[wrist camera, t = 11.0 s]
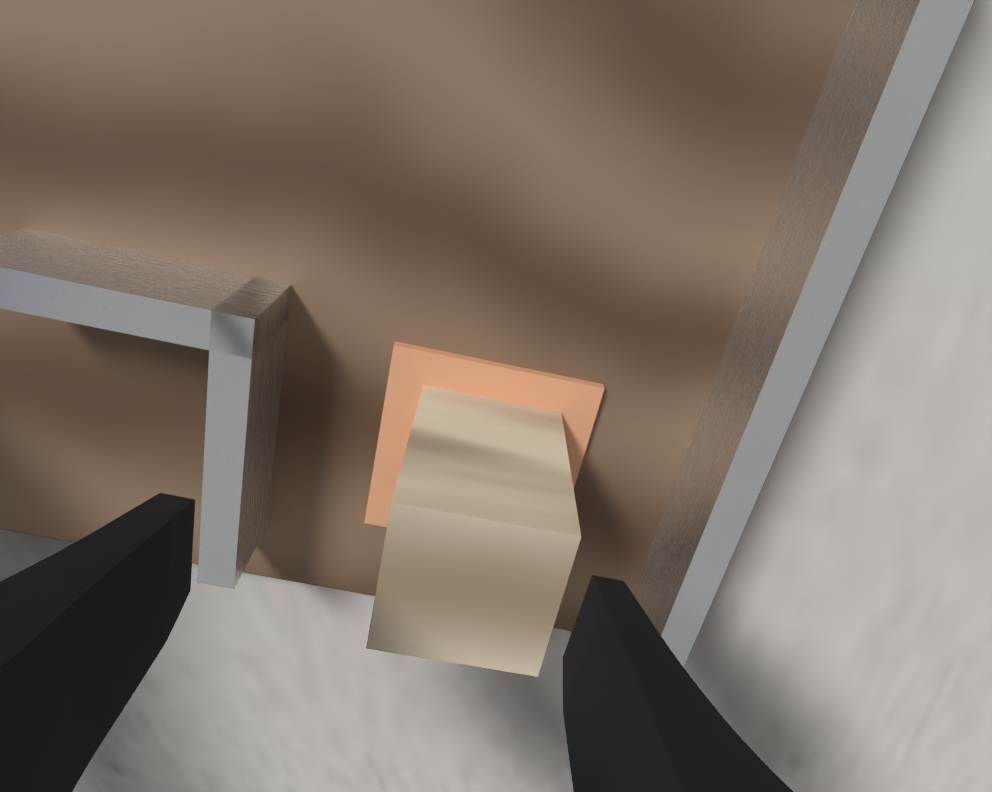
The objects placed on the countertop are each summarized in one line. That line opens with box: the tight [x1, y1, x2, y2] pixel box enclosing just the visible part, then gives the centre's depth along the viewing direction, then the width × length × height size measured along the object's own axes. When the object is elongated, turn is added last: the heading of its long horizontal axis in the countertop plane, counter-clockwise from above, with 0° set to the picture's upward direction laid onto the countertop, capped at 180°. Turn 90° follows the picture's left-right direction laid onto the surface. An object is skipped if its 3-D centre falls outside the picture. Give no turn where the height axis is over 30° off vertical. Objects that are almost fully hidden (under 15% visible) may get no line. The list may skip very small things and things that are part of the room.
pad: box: [364, 341, 605, 527], centre depth 21 cm, size 6×6×1 cm
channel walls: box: [0, 0, 974, 668], centre depth 17 cm, size 21×20×3 cm
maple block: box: [366, 385, 581, 677], centre depth 18 cm, size 4×4×6 cm
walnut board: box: [0, 0, 855, 631], centre depth 19 cm, size 24×24×1 cm
